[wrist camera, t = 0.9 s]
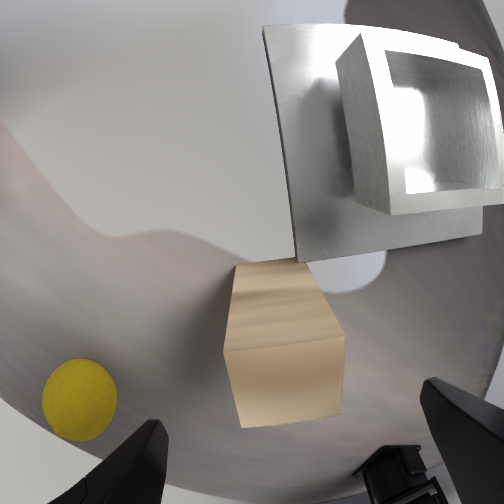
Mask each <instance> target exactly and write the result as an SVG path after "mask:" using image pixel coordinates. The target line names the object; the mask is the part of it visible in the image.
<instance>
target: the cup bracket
mask: <svg viewBox="0 0 504 504" xmlns="http://www.w3.org/2000/svg"><path fill="white" fill-rule="evenodd" d="M262 35H263V41H264V46H265V51H266V57H267V62H268V67H269V72H270V78H271V84H272V90H273V95H274V101H275V107H276V114H277V120H278V126H279V133H280V139H281V146H282V152H283V159H284V167H285V174H286V181H287V189H288V197H289V205H290V213H291V221H292V229H293V238H294V247H295V257H296V259H297V261H298V263H304V262H311V261H318V260H324V259H331V258H338V257H344V256H351V255H357V254H364V253H370V252H377V251H383V250H389V249H395V248H402V247H408V246H414V245H420V244H426V243H432V242H438V241H444V240H449V239H455V238H461V237H467V236H472V235H478V234H482V215H483V206H484V205H494V204H504V132H503V125H502V119H501V113H500V107H499V102H498V97H497V93H496V88H495V84H494V80H493V76H492V72H491V69H490V65H489V62H488V58H485V57H482V56H479V55H476V54H473V53H470V52H467V51H464V50H460V49H459V47H458V44H455V43H452V42H448V41H444V40H441V39H437V38H432V37H428V36H424V35H419V34H414V33H409V32H403V31H397V30H391V29H384V28H376V27H367V26H356V25H341V24H283V25H282V24H281V25H267V26H263V31H262Z"/></svg>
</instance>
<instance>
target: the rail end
mask: <svg viewBox="0 0 504 504" xmlns="http://www.w3.org/2000/svg"><path fill="white" fill-rule="evenodd" d="M223 354H224V359H225V363H226V367H227V371H228V376H229V380H230V384H231V388H232V392H233V396H234V400H235V404H236V408H237V412H238V416H239V419H240V423H241V427H242V428H249V427H261V426H271V425H280V424H288V423H296V422H303V421H309V420H315V419H321V418H326V417H331V416H336V415H341V404H342V392H343V377H344V358H345V334H344V332H343V330H342V328H341V327H340V325H339V323H338V321H337V319H336V317H335V315H334V313H333V312H332V310H331V308H330V306H329V304H328V302H327V300H326V299H325V297H324V295H323V293H322V291H321V289H320V288H319V286H318V284H317V282H316V280H315V279H314V277H313V275H312V273H311V272H310V270H309V268H308V266H307V264H306V263H305V262H304V263H298V261H297V259H296V257H293V258H286V259H278V260H270V261H263V262H254V263H246V264H238V265H236V270H235V276H234V282H233V289H232V295H231V302H230V308H229V315H228V322H227V328H226V335H225V342H224V349H223Z"/></svg>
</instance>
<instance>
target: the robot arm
mask: <svg viewBox="0 0 504 504" xmlns="http://www.w3.org/2000/svg"><path fill="white" fill-rule="evenodd" d="M420 403H421V406H422V409H423V411H424V414H425V417H426V420H427V423H428V426H429V429H430V432H431V434H432V437H433V439H434V441H435V443H436V445H437V448H438V450H439V452H440V454H441V456H442V458H443V461H444V463H445V465H446V467H447V470H448V472H449V474H450V476H451V479H452V481H453V484H454V486H455V488H456V491H457V493H458V496H459V498H460V501H461V503H462V504H504V410H503V409H501V408H499V407H497V406H495V405H493V404H491V403H488V402H486V401H484V400H482V399H480V398H478V397H476V396H474V395H472V394H469V393H467V392H465V391H463V390H461V389H459V388H457V387H455V386H453V385H451V384H449V383H447V382H445V381H443V380H441V379H439V378H436V377H432V378H429V379H427V380H425V381H424V383H423V387H422V390H421V394H420ZM168 442H169V437H168V434H167V432H166V430H165V428H164V426H163V424H162V422H161V421H160V420H156V419H149V420H147V421H146V422H145V423H144V424H143V425H142V426H140V427H139V428H138V429H137V430H136V431H135V432H134V433H133V434H132V435H131V436H130V437H129V438H128V439H126V440H125V441H124V442H123V443H122V444H121V445H120V446H119V447H118V448H117V449H115V450H114V451H113V452H112V453H111V454H110V455H109V456H108V457H107V458H105V459H104V460H103V461H102V462H101V463H100V464H99V465H97V466H96V467H95V468H94V469H93V470H92V471H91V472H89V473H88V474H87V475H86V476H85V478H82V479H81V480H80V481H79V482H78V483H76V484H75V485H74V486H73V487H71V488H70V489H69V490H67V491H66V492H65V493H63V494H62V495H60V496H59V497H57V498H56V499H54V500H52V501H51V502H49V503H47V504H161V499H162V494H163V488H164V484H165V478H166V470H167V455H168ZM420 450H421V446H420V445H410V446H384V447H383V448H381V449H380V450H379V451H378V452H377V453H376V454H375V455H374V456H373V457H372V458H371V459H370V460H369V461H368V462H367V463H365V464H364V465H363V466H362V467H361V468H360V469H359V470H357V471H356V472H355V473H354V474H353V478H364V482H365V485H366V488H367V491H368V495H369V498H370V501H371V504H448V501H447V499H446V497H445V495H444V493H443V491H442V489H441V487H440V485H439V483H438V481H437V479H436V478H435V476H434V477H432V478H431V479H430V480H428V478H427V477H426V474H425V473H426V472H427V469H426V467H425V465H424V463H423V461H422V459H421V457H420V454H419V451H420ZM433 492H435V493H436V494H434V495H432V496H431V495H430V494H432V493H433Z"/></svg>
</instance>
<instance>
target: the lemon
mask: <svg viewBox="0 0 504 504" xmlns="http://www.w3.org/2000/svg"><path fill="white" fill-rule="evenodd" d="M117 402H118V394H117V388H116V385H115V383H114V380H113V378H112V377H111V375H110V374H109V372H108V371H107V370H106V369H105V368H104V367H102V366H101V365H100V364H98V363H96V362H94V361H92V360H89V359H83V358H78V359H71V360H68V361H67V362H65V363H63V364H61V365H60V366H58V367H57V368H56V369H55V370H54V371H53V373H52V374H51V376H50V377H49V379H48V381H47V382H46V385H45V387H44V390H43V394H42V408H43V412H44V415H45V418H46V419H47V421H48V423H49V425H50V426H51V427H52V428H53V429H54V432H55V434H56V435H57V436H59V437H61V438H64V437H65V438H67V439H69V440H73V441H88V440H91V439H93V438H96V437H97V436H99V435H100V434H101V433H102V432H103V431H104V430H105V429H106V427H107V426H108V425H109V424H110V422H111V421H112V419H113V417H114V415H115V412H116V407H117Z"/></svg>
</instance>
